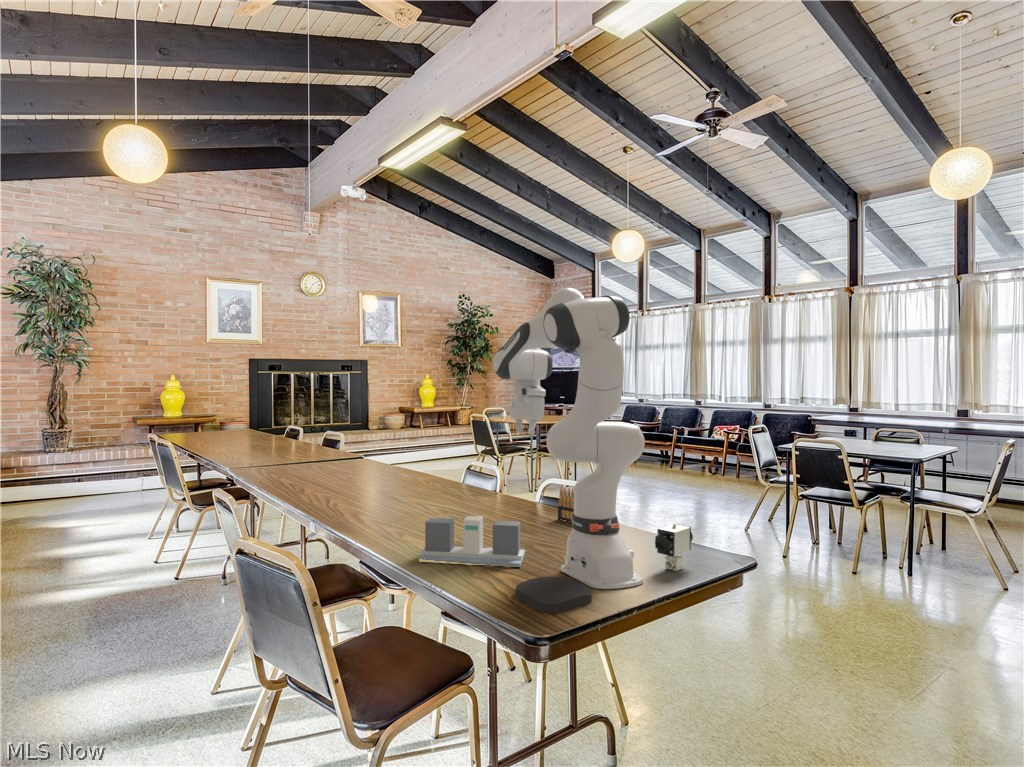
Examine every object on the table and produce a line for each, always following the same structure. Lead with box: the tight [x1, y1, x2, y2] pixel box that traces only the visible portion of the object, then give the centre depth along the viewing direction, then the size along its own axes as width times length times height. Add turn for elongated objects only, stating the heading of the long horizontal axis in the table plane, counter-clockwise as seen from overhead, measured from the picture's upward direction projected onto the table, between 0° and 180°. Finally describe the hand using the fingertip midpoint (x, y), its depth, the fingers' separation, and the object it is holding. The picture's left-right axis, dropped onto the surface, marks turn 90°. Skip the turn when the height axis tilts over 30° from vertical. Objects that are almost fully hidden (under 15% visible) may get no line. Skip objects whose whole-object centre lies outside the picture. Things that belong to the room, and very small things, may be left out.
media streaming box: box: [514, 576, 593, 614], centre depth 127 cm, size 15×15×3 cm
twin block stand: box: [417, 517, 526, 568], centre depth 155 cm, size 12×28×10 cm, turn 82°
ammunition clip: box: [557, 486, 574, 523], centre depth 197 cm, size 11×2×12 cm, turn 45°
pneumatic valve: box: [654, 523, 694, 572], centre depth 148 cm, size 6×12×12 cm, turn 133°
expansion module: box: [462, 515, 484, 554], centre depth 155 cm, size 5×4×9 cm
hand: (525, 433), depth 181 cm, fingers open, 8 cm apart
